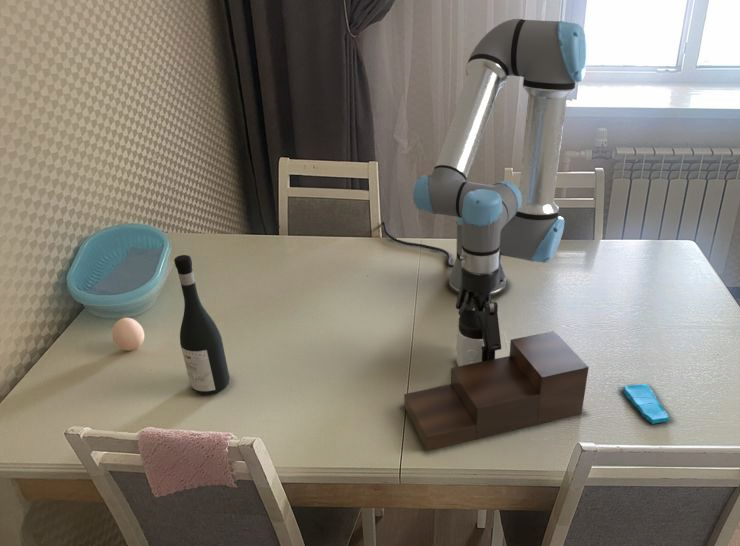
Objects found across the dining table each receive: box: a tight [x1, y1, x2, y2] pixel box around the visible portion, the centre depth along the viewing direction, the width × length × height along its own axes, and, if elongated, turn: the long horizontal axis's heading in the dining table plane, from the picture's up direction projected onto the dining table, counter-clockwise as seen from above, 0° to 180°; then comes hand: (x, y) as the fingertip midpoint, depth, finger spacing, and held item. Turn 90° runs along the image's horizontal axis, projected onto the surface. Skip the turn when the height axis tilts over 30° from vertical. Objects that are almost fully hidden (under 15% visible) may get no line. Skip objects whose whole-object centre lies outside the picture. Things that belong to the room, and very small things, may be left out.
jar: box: [456, 309, 498, 367], centre depth 148 cm, size 9×8×12 cm
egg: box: [111, 317, 145, 352], centre depth 155 cm, size 7×7×8 cm
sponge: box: [623, 383, 670, 425], centre depth 139 cm, size 2×12×6 cm
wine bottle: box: [173, 254, 230, 396], centre depth 137 cm, size 8×8×30 cm
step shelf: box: [403, 330, 589, 452], centre depth 135 cm, size 14×33×12 cm, turn 110°
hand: (476, 356), depth 150 cm, fingers open, 12 cm apart
